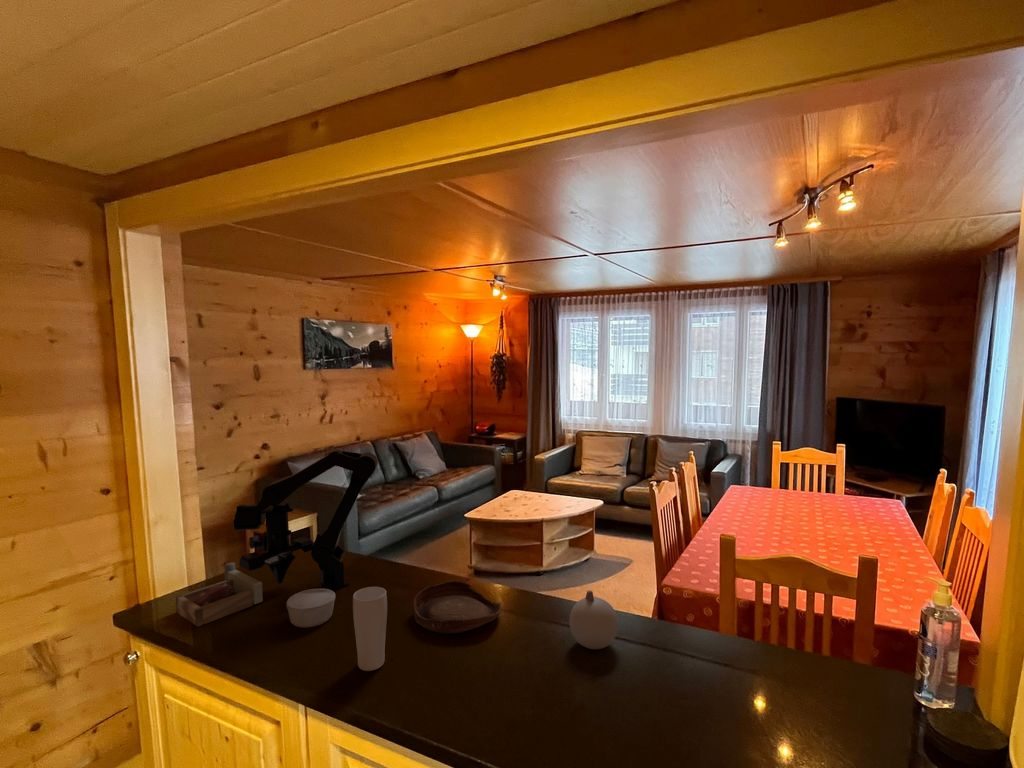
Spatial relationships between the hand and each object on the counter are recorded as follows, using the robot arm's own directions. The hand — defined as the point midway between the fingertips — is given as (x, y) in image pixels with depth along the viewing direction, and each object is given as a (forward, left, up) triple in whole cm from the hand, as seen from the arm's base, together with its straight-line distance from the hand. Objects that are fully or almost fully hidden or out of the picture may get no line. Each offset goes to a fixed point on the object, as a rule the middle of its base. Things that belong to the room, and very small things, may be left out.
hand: (279, 583), depth 141 cm
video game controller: (+4, +16, -2) cm, 16 cm away
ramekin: (-22, +4, -2) cm, 22 cm away
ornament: (-84, -25, -2) cm, 88 cm away
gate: (+5, +8, -1) cm, 9 cm away
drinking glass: (-50, +8, -2) cm, 51 cm away
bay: (+3, +15, -2) cm, 15 cm away
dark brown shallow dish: (-51, -17, -3) cm, 54 cm away
